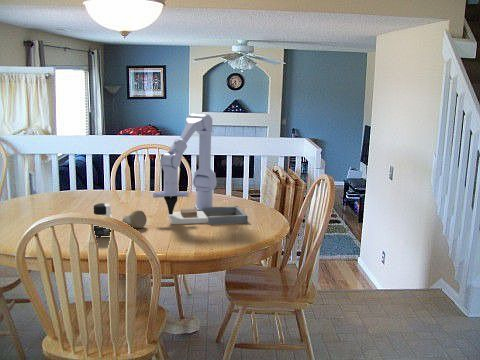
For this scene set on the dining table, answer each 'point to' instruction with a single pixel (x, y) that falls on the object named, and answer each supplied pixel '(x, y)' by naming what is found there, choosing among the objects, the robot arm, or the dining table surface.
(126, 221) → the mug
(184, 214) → the tile
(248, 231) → the dining table surface
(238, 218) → the box
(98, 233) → the medicine bottle
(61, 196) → the dining table surface
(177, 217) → the board
